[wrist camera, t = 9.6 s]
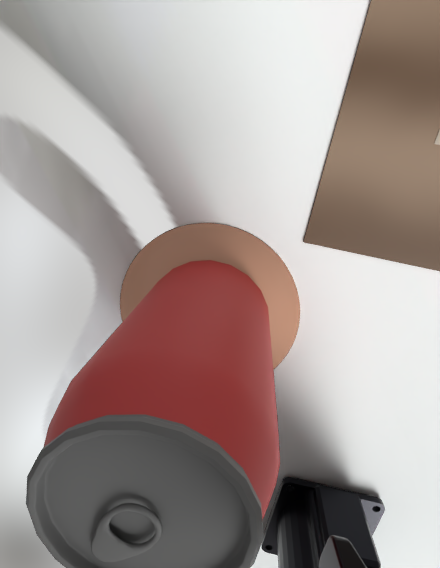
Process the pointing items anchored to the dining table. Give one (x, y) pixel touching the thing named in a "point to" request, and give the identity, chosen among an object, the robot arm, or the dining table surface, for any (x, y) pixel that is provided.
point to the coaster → (226, 249)
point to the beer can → (166, 434)
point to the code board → (387, 143)
